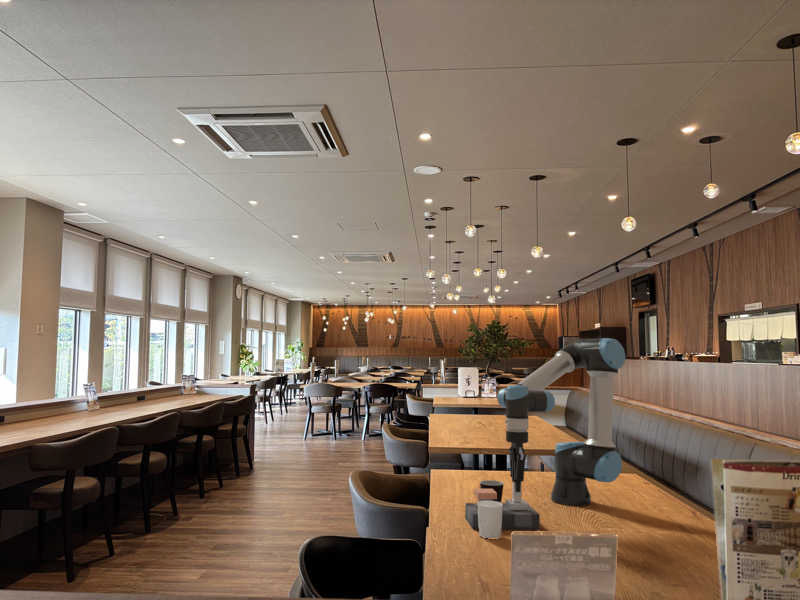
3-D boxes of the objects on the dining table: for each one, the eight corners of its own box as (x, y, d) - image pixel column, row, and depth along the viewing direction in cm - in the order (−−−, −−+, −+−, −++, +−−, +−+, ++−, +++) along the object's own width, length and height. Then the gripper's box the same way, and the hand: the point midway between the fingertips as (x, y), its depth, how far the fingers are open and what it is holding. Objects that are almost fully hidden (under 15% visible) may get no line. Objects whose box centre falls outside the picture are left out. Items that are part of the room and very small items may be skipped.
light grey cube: (523, 517, 193) (523, 499, 194) (529, 522, 187) (529, 504, 187) (505, 517, 192) (505, 499, 193) (510, 522, 186) (510, 504, 187)
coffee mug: (503, 514, 200) (503, 486, 201) (479, 512, 202) (479, 484, 203) (503, 506, 212) (503, 479, 213) (480, 504, 213) (481, 478, 215)
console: (527, 518, 197) (527, 503, 197) (539, 530, 183) (539, 514, 183) (465, 517, 195) (465, 503, 196) (473, 530, 181) (473, 514, 182)
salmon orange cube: (492, 506, 193) (492, 488, 193) (496, 511, 186) (496, 493, 187) (474, 506, 192) (474, 488, 193) (477, 511, 186) (478, 492, 186)
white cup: (496, 542, 170) (497, 508, 171) (473, 537, 174) (473, 504, 175) (506, 535, 176) (506, 503, 177) (483, 531, 180) (483, 499, 181)
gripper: (501, 428, 199) (501, 496, 196) (511, 432, 186) (511, 505, 183) (522, 428, 199) (522, 496, 197) (533, 433, 186) (533, 506, 184)
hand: (516, 501), depth 190 cm, fingers closed
